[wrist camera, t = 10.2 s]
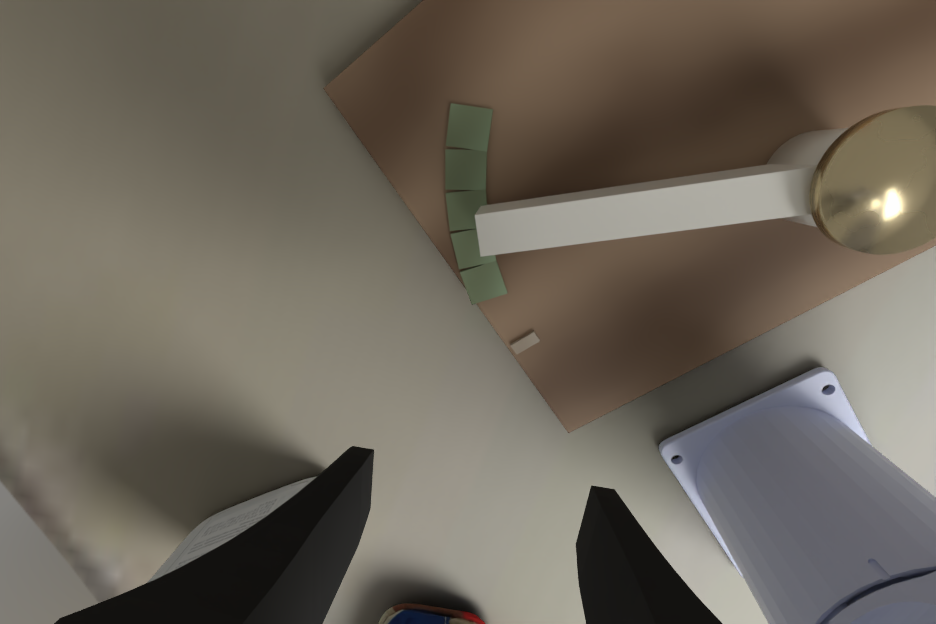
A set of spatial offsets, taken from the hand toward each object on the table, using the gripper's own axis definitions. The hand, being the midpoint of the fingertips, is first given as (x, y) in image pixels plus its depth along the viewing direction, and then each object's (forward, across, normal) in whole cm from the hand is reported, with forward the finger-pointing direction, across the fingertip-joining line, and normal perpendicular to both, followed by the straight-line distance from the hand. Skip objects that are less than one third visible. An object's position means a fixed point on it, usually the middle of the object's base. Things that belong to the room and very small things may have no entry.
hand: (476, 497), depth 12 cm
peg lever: (+8, -6, -8) cm, 13 cm away
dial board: (+9, -6, -11) cm, 16 cm away
